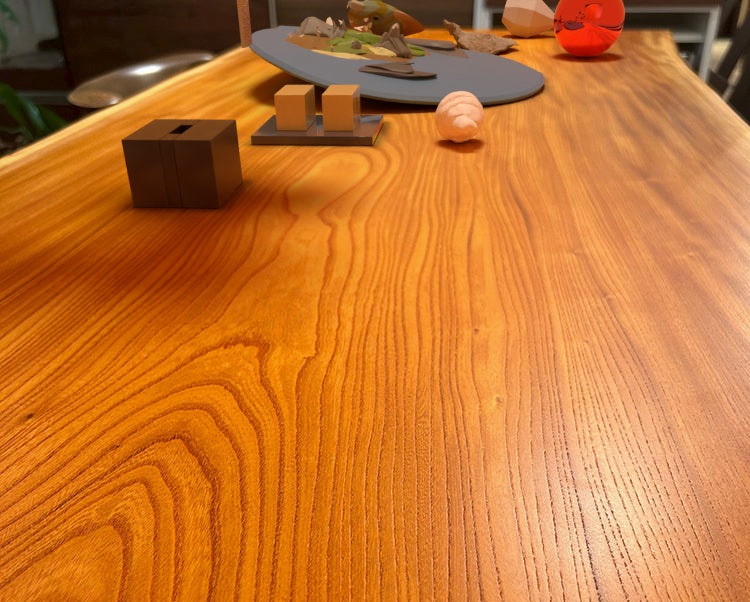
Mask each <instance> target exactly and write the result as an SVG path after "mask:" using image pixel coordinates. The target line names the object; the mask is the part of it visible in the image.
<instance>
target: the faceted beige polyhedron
mask: <svg viewBox="0 0 750 602" xmlns="http://www.w3.org/2000/svg"><path fill="white" fill-rule="evenodd" d="M554 14H555V12H554V11H553V10H552V9H551V8H550V7H549V6H548V5H547V4H546V3H545V2H544V0H506V1H505V6H504V9H503V13H502V18H501V23H502V24H503V26H504V27H505V28H506V30H508V31H509V33H510V34H511V35H513V36H517V37H521V38H526V39H528V38H531V37H534V36H536V35H539V34H541V33H544V32H546V31H549V30H553V19H554Z"/></svg>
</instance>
